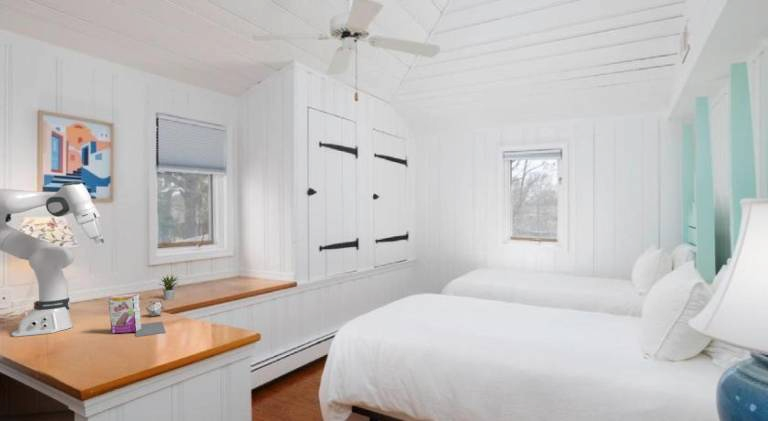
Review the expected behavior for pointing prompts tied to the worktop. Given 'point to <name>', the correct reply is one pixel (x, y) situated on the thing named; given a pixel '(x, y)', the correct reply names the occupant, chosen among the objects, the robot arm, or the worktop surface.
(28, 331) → the robot arm
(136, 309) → the candy bar box
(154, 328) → the mat
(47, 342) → the worktop surface
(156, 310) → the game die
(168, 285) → the house plant
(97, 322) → the worktop surface
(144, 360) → the worktop surface
